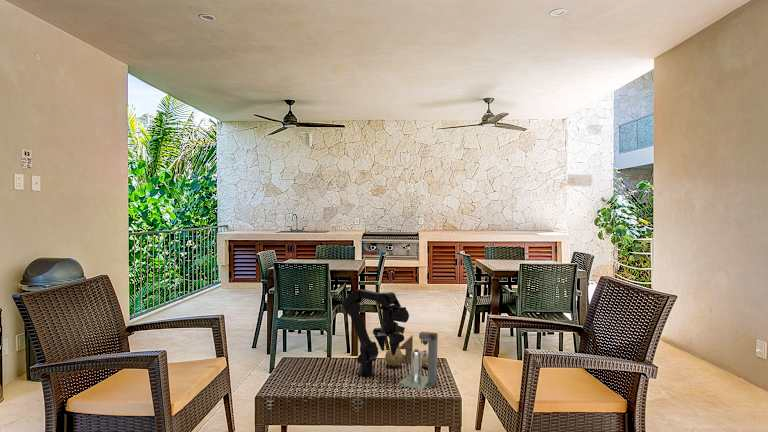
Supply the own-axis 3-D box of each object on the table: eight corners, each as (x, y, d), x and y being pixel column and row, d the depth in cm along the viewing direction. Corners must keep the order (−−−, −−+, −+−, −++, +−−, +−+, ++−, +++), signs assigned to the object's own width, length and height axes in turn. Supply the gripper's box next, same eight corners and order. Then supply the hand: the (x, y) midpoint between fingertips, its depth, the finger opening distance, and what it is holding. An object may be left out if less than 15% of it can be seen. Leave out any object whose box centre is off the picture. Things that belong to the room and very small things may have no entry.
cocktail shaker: (409, 380, 209) (409, 349, 210) (413, 377, 214) (413, 347, 214) (418, 382, 207) (419, 351, 207) (422, 379, 211) (423, 348, 212)
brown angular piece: (412, 363, 240) (412, 329, 240) (392, 362, 241) (392, 328, 242) (412, 361, 244) (412, 327, 244) (392, 360, 245) (393, 327, 246)
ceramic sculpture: (418, 345, 243) (443, 351, 235) (417, 361, 243) (442, 367, 235) (408, 350, 234) (435, 356, 226) (407, 366, 234) (434, 373, 226)
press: (394, 388, 202) (394, 336, 203) (409, 376, 219) (410, 327, 220) (427, 394, 196) (427, 340, 196) (440, 381, 213) (440, 331, 213)
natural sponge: (397, 370, 228) (398, 350, 228) (382, 368, 231) (382, 348, 232) (404, 365, 236) (405, 346, 236) (389, 363, 240) (389, 344, 240)
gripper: (413, 321, 210) (413, 355, 209) (391, 314, 225) (391, 346, 225) (393, 323, 204) (393, 358, 203) (372, 316, 219) (372, 349, 219)
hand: (388, 352), depth 213 cm, fingers open, 9 cm apart
